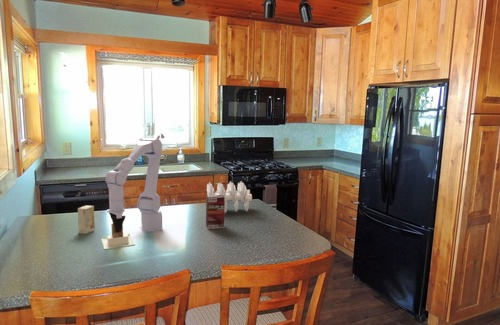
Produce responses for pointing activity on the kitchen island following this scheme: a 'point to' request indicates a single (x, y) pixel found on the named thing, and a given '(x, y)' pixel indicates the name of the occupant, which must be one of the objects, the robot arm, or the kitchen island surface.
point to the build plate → (106, 246)
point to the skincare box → (86, 219)
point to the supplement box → (215, 211)
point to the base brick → (117, 239)
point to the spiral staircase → (232, 194)
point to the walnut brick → (118, 234)
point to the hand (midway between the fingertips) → (117, 230)
